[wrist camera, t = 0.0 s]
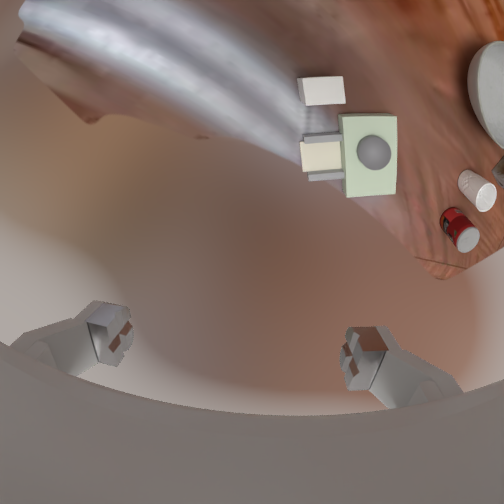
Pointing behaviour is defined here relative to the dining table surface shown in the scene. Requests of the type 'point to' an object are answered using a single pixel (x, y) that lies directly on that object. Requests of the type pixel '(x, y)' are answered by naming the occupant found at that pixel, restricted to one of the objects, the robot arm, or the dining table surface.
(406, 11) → the dining table surface
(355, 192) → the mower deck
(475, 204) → the white cup
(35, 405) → the robot arm
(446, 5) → the dining table surface
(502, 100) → the decorative bowl
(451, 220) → the canned food
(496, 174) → the coffee box
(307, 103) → the white rectangular block
